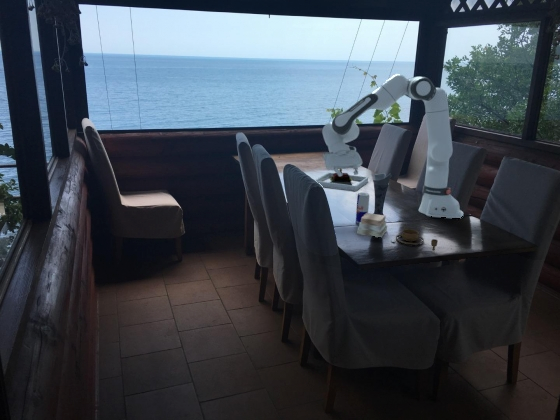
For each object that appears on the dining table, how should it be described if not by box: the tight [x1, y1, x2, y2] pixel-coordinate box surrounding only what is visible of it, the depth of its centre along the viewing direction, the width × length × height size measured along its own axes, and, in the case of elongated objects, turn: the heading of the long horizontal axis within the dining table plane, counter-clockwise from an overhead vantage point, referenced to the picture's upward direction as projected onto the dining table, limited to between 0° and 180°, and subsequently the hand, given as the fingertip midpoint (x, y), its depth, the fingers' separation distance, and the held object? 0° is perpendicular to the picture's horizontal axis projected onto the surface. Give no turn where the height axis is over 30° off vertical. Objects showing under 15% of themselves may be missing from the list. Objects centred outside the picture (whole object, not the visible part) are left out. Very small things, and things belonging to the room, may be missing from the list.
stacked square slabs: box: [356, 212, 388, 238], centre depth 224 cm, size 11×11×8 cm
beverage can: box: [355, 192, 370, 225], centre depth 235 cm, size 6×6×15 cm
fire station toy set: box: [329, 169, 354, 185], centre depth 310 cm, size 14×20×11 cm
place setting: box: [395, 228, 438, 251], centre depth 211 cm, size 18×20×6 cm
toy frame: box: [315, 171, 369, 192], centre depth 313 cm, size 28×28×3 cm
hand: (348, 175), depth 241 cm, fingers open, 8 cm apart
